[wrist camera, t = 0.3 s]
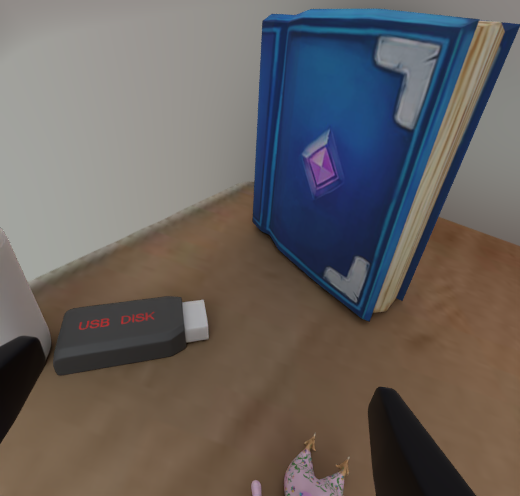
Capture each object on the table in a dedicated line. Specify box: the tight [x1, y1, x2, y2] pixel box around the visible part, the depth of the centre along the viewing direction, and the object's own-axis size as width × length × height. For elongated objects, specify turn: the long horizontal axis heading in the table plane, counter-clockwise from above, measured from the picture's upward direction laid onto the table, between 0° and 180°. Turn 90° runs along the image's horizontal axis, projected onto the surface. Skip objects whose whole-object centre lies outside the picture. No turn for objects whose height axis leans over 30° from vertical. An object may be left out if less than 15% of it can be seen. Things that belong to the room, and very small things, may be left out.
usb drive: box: [53, 296, 209, 375], centre depth 28 cm, size 5×12×3 cm, turn 105°
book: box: [253, 9, 520, 322], centre depth 33 cm, size 22×7×25 cm, turn 35°
